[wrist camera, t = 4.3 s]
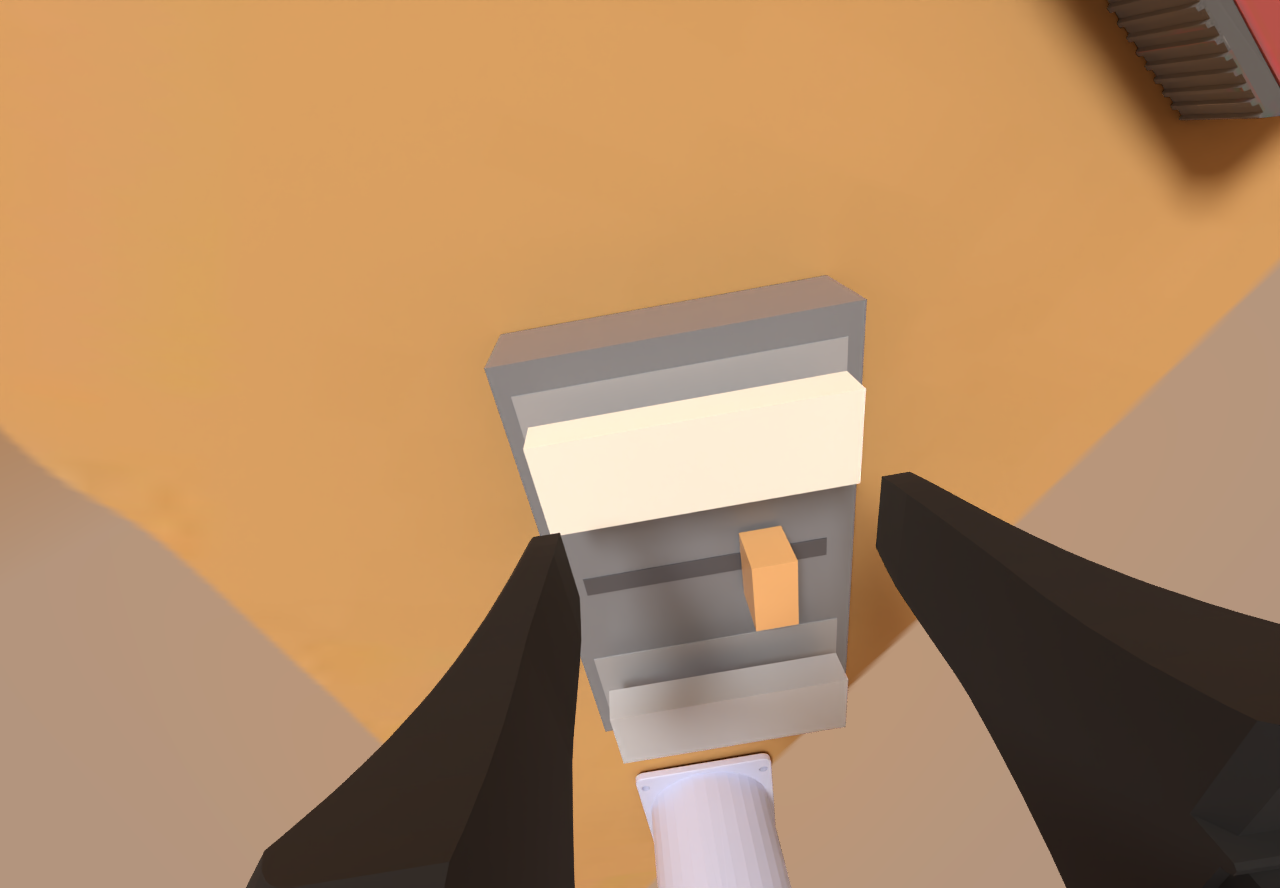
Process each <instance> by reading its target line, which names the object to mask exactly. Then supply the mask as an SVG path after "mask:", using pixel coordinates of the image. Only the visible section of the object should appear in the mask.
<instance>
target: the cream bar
mask: <svg viewBox="0 0 1280 888" xmlns="http://www.w3.org/2000/svg"><path fill="white" fill-rule="evenodd" d="M865 395H866V388H865V387H864V386H863V385H861V384H860V383H859V382H858V381H857V380H856V379H855V378H854V377H853V376H852V375H851V374H850V373H849V372H848V371H843V372H838V373H832V374H826V375H821V376H815V377H810V378H804V379H798V380H793V381H787V382H782V383H776V384H770V385H765V386H759V387H754V388H748V389H742V390H737V391H731V392H726V393H720V394H714V395H709V396H703V397H698V398H692V399H686V400H681V401H675V402H670V403H664V404H658V405H653V406H647V407H642V408H636V409H630V410H625V411H619V412H614V413H608V414H602V415H597V416H591V417H586V418H580V419H574V420H569V421H563V422H557V423H552V424H546V425H541V426H535V427H529V428H528V430H527V435H526V439H525V443H524V448H523V451H524V454H525V457H526V460H527V463H528V466H529V470H530V473H531V476H532V479H533V482H534V485H535V488H536V491H537V494H538V498H539V501H540V504H541V507H542V510H543V513H544V516H545V519H546V522H547V526H548V529H549V532H550V534H555V533H560V534H561V535H566V534H572V533H577V532H583V531H589V530H595V529H600V528H606V527H612V526H618V525H623V524H629V523H635V522H640V521H646V520H652V519H658V518H663V517H669V516H675V515H681V514H686V513H692V512H698V511H704V510H709V509H715V508H721V507H726V506H732V505H738V504H744V503H749V502H755V501H761V500H767V499H772V498H778V497H784V496H790V495H795V494H801V493H807V492H812V491H818V490H824V489H830V488H835V487H841V486H847V485H853V484H858V483H860V478H861V462H862V445H863V428H864V412H865Z"/></svg>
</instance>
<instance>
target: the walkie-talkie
mask: <svg viewBox="0 0 1280 888" xmlns="http://www.w3.org/2000/svg"><path fill="white" fill-rule="evenodd" d="M1107 1H1108V2H1109V6H1108V8H1107V9H1108V11H1109V12H1110V13H1112V12H1115V13H1116V15H1117V16H1118V18H1119V20H1118V22H1117V25H1118V26H1119V28H1121V27H1125V29H1126V30H1127V32H1128V33H1129V34H1128V36H1127V38H1126V39H1127V40H1128V42H1135V44H1136V46H1137V47H1138V49H1137V51H1136V54H1137V56H1138V57H1139V56H1144V58H1145V60H1146V61H1147V63H1146V65H1145V68H1146V69H1147V70H1153V72H1154V74H1155V75H1156V77H1155V78H1154V82H1155V83H1156V84H1160V83H1161V84H1162V86H1163V88H1164V91H1163V92H1162V94H1163V96H1164V97H1170V98H1171V100H1172V101H1173V103H1172V104H1171V108H1172V109H1173V110H1178V111H1179V112H1180V114H1181V116H1180V118H1179V120H1210V119H1248V118H1265V117H1274V116H1280V0H1107Z"/></svg>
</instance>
